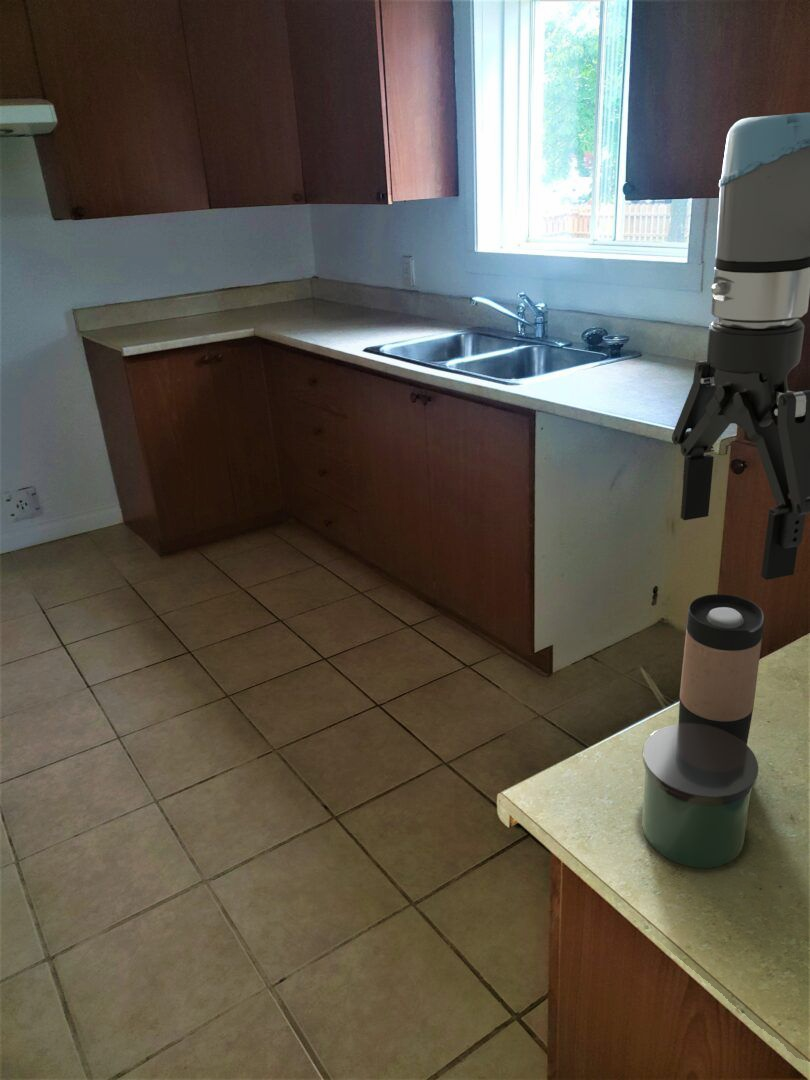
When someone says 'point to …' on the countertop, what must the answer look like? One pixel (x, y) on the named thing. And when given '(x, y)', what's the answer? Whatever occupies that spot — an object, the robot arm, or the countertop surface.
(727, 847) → the jar
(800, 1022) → the countertop surface
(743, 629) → the travel mug
